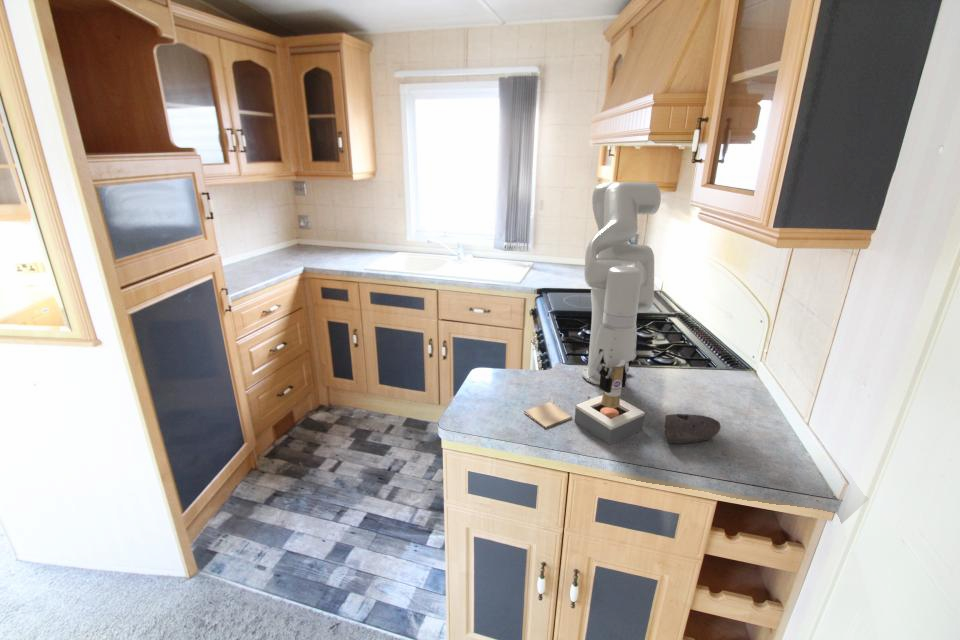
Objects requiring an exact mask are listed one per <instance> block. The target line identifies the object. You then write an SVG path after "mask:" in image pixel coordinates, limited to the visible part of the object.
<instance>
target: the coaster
mask: <svg viewBox="0 0 960 640" xmlns="http://www.w3.org/2000/svg"><path fill="white" fill-rule="evenodd" d="M524 412H525V413H527V414H528V415H529V416H530V417H532V418H533V419H534V420H535V421H534V420H533V419H532V418H531V419H532V420H533V421H534V422H536V421H537V422H538V423H539V425H540V424H541V425H542V426H541V425H540V426H541V427H542V428H544V427H545V428H546V429H548V428H547V427H549V428H551V427H554V426H556V425H558V423H559V424H561V423H560V422H562V423H564V422H566V420H567V421H569V420H571V419H573V416H572V415H571V414H569V413H568V412H566V411H564V410H563V409H561V408H560V407H559V406H557V405H555V404H554V403H553V402H551V401H547V402H546V403H543V404H540V405H537V406H534V407H531V408H529V409H528V408H527V409H526V410H523V413H524ZM525 413H524V414H525ZM528 415H527V416H528ZM529 416H528V417H529ZM530 417H529V418H530ZM537 422H536V423H537ZM538 423H537V424H538ZM555 424H556V425H555ZM553 425H554V426H553ZM550 426H551V427H550ZM545 428H544V429H545Z"/></svg>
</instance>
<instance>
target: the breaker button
mask: <svg viewBox="0 0 960 640" xmlns="http://www.w3.org/2000/svg"><path fill="white" fill-rule="evenodd" d="M600 413H602V414H603V415H605V416H607V417H608V418H610V419H612V418H614V417H617V416H619V412H618V411H617V410H616V409H614V408H608V407H605V408H602V409H601V410H600Z"/></svg>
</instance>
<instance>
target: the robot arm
mask: <svg viewBox="0 0 960 640" xmlns="http://www.w3.org/2000/svg"><path fill="white" fill-rule="evenodd" d="M661 194H662V193H661V190H660V186H659V185H658V184H657V183H655V182H650V181H642V182H641V181H622V182H621V181H620V182H604V183H601V184H599V185H596V187H594V189H593V192H592V200H591V201H592V212H593V215H594V220H595V222H596V226H597V229H598V232H597V233H595V235H594V236H593V237H592V238H591V239H590V241H589V243H588V245H587V248H586V251H585V257H584V273H583V274H584V282H585V284H586V285H587V286H588V287H589V288H590V294H591V295H590V299H591V322H590V323H591V325H590V334H589V335H590V336H589V349H588V360H587V361H588V363H587V366H586V367H584V368H583V369H582V372H581V374H582V378H583V377H584V378H585V379H586V380H585V379H584V378H583V379H584V380H585V381H586V382H588V381H589V382H588V383H590V382H591V383H590V384H593V385H597V386H599V387H598V388H599V389H600V390H602V392H603V391H605V392H607V393H610V392H611V384H612V378H610V376H611V373H612V369H613V367H614V366H617V365H619V363H620V361H621V360H625V365H624V369H623V378H622V388H625V387H626V381H627V374H628V372H629V370H630V366H631V365H632V363H633V361H634V360H635V359H636V358H637V353H636V350H637V339H638V338H637V336H638V335H637V334H638V333H637V319H638V318H637V317H638V316H637V315H638V313H643V314H644V313H648V312H649V311H651V309H652V308H653V306H654V301H655V254H654V251H653V249H652V247H650V246H648V245H646V244H636V243H633V244H632V243H629V241H631V240H632V239H633V238H634V237H635V236H636V234H637V232H638V228H639V226H638V215H654V214H656V213H658V211H659V209H660V205H661V199H662V198H661V197H662V196H661ZM605 368H608V369H607V372H606V371H605Z"/></svg>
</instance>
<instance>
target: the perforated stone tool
mask: <svg viewBox="0 0 960 640" xmlns="http://www.w3.org/2000/svg"><path fill="white" fill-rule="evenodd" d="M664 428H665V431H664V436H665V440H666V442H667V443H672V444H686V443H687V444H689V443H695V442H696V443H697V442H702V441H706V440H707V441H708V440H709V439H711V438H713V437H715V436H716V435H717V434H719V433H720V431H721V428H722V427H721V423H720V422H719V421H718V420H717V419H715V418H713V417H709V416H706V415H699V414H689V413H687V414H686V413H677V414H676V413H675V414H666V415H665V422H664Z"/></svg>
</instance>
